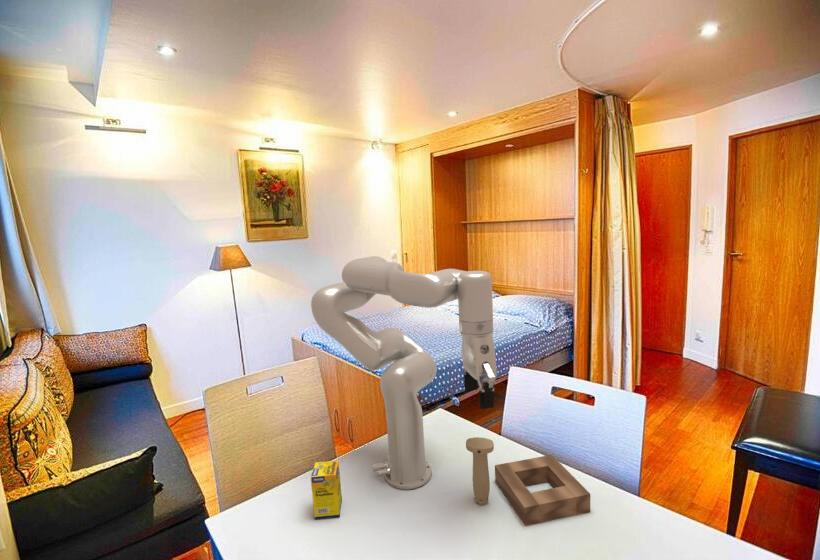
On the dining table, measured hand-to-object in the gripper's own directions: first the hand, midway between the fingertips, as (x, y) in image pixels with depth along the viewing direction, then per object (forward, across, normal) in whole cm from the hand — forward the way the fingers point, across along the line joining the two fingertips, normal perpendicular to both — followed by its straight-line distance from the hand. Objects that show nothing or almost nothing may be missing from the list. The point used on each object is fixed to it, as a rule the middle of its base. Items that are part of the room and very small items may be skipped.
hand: (478, 398), depth 93 cm
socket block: (+26, -2, -14) cm, 30 cm away
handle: (+26, 0, 0) cm, 26 cm away
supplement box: (+26, +7, +36) cm, 45 cm away
